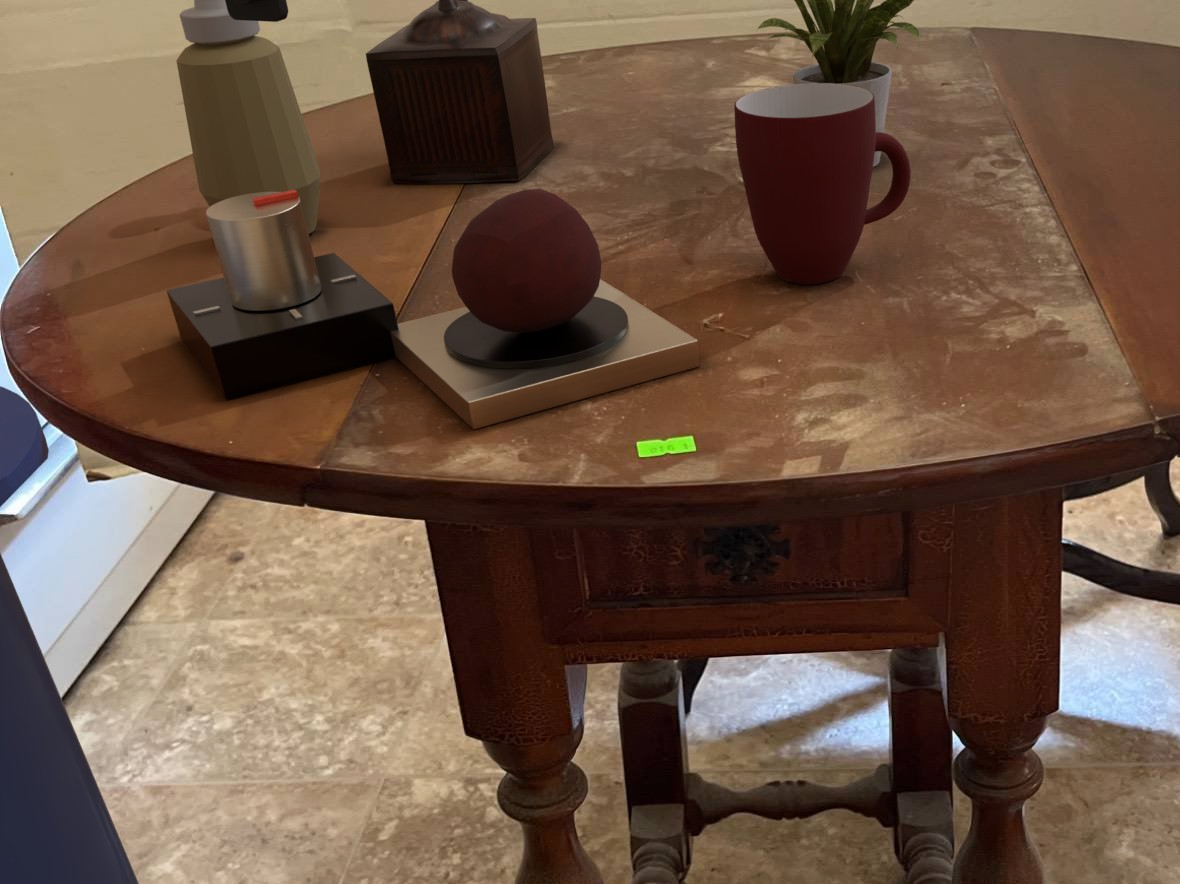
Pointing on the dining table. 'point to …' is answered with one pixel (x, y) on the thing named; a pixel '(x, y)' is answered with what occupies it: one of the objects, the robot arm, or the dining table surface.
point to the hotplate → (541, 357)
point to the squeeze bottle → (243, 112)
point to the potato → (526, 263)
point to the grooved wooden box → (461, 96)
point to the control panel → (285, 331)
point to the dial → (264, 250)
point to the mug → (813, 174)
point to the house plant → (848, 46)
